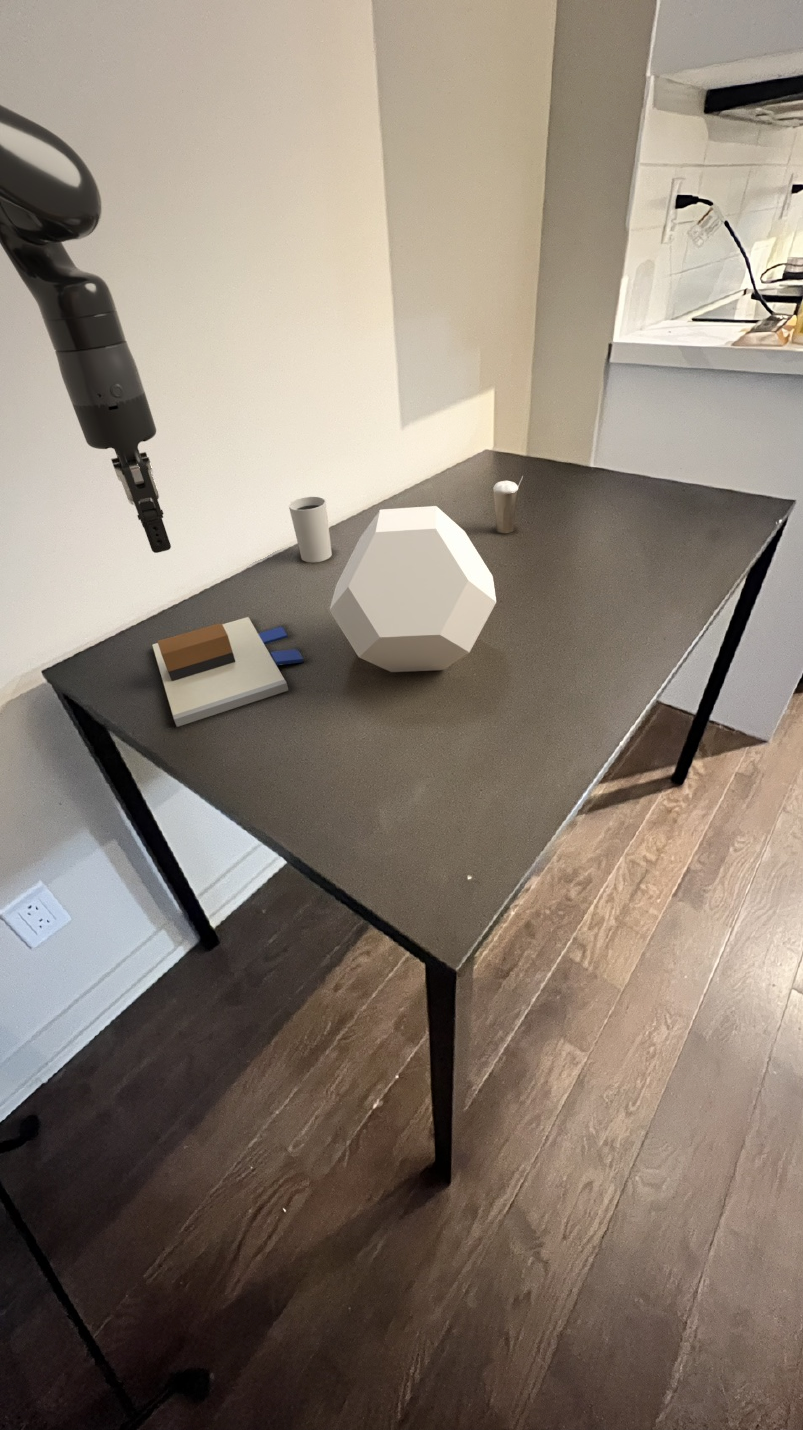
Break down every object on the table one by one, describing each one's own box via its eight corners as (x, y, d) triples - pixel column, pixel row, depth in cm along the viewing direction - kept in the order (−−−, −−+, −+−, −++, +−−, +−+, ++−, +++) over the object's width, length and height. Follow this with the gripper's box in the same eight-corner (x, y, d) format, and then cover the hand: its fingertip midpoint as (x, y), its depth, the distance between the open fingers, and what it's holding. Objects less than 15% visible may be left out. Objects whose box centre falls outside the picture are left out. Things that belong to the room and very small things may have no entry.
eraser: (235, 662, 88) (227, 634, 86) (171, 681, 86) (161, 654, 83) (229, 649, 91) (221, 622, 89) (167, 667, 89) (157, 640, 86)
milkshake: (522, 533, 117) (524, 480, 111) (494, 535, 118) (494, 482, 111) (519, 524, 121) (521, 471, 115) (491, 526, 121) (492, 474, 115)
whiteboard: (176, 727, 80) (173, 719, 79) (154, 651, 95) (151, 643, 94) (288, 690, 84) (286, 682, 83) (250, 623, 99) (248, 616, 98)
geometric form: (420, 606, 99) (411, 479, 86) (519, 652, 87) (525, 511, 74) (319, 660, 89) (292, 525, 77) (414, 720, 77) (401, 571, 64)
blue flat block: (262, 645, 94) (262, 642, 94) (257, 637, 96) (256, 633, 96) (288, 638, 95) (287, 634, 95) (282, 629, 97) (281, 626, 97)
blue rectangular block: (275, 665, 87) (275, 661, 87) (270, 655, 90) (270, 651, 89) (303, 662, 89) (303, 658, 89) (297, 652, 91) (297, 648, 91)
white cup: (337, 547, 119) (329, 495, 113) (330, 562, 114) (321, 509, 108) (303, 548, 120) (293, 497, 114) (295, 564, 115) (284, 511, 109)
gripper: (68, 389, 71) (120, 527, 81) (73, 412, 60) (132, 567, 70) (135, 378, 73) (178, 513, 83) (152, 398, 62) (198, 551, 73)
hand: (157, 538), depth 77 cm, fingers open, 8 cm apart
